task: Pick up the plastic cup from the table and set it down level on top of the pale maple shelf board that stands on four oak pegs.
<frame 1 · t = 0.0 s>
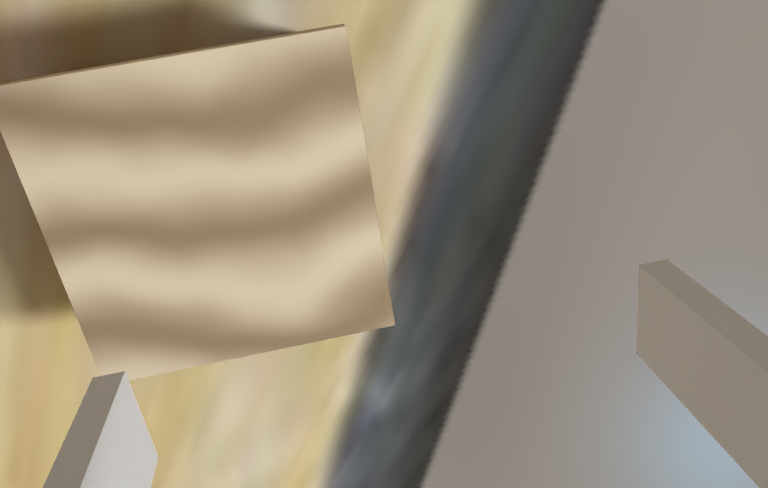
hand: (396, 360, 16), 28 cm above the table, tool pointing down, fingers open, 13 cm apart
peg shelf: (225, 180, 42), on the table
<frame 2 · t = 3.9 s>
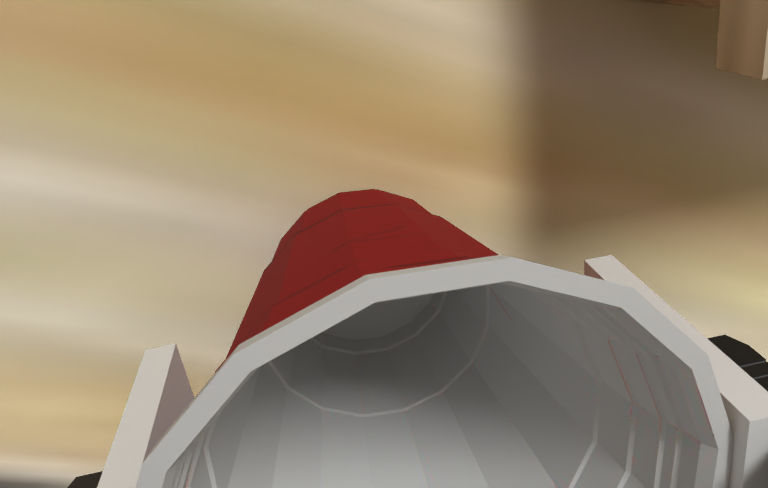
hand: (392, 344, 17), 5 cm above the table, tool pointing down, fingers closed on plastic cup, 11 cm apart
plastic cup: (367, 261, 22), on the table, touching gripper
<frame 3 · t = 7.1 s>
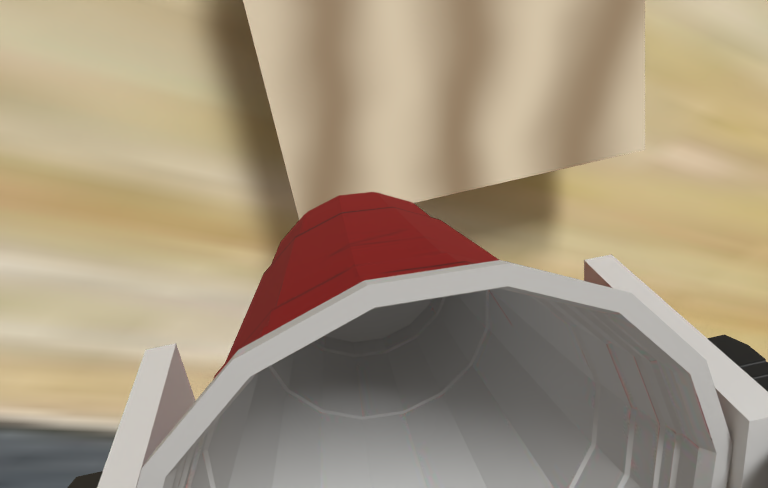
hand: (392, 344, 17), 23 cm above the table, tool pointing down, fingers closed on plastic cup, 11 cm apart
plastic cup: (366, 264, 22), point 17 cm above the table, touching gripper
when the fingers open (13 cm above the table, at t = 10.7 s): plastic cup stays where it is, resting on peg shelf.
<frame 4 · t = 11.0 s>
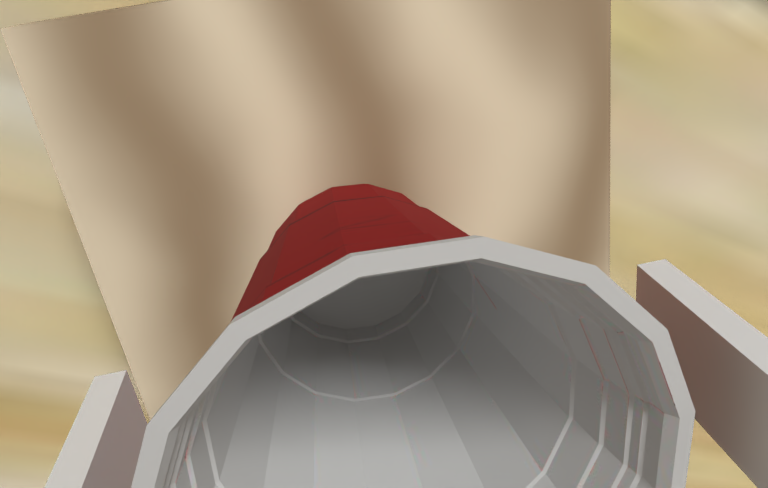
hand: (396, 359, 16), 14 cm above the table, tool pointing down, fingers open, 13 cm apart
plastic cup: (358, 253, 22), point 7 cm above the table, touching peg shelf
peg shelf: (345, 185, 29), on the table
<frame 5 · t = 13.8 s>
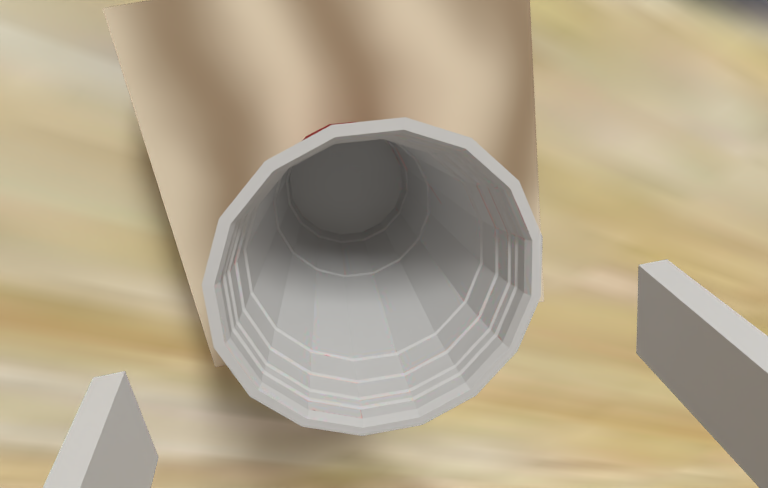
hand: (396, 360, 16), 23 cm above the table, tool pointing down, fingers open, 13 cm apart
plastic cup: (350, 176, 31), point 7 cm above the table, touching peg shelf
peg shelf: (342, 137, 37), on the table
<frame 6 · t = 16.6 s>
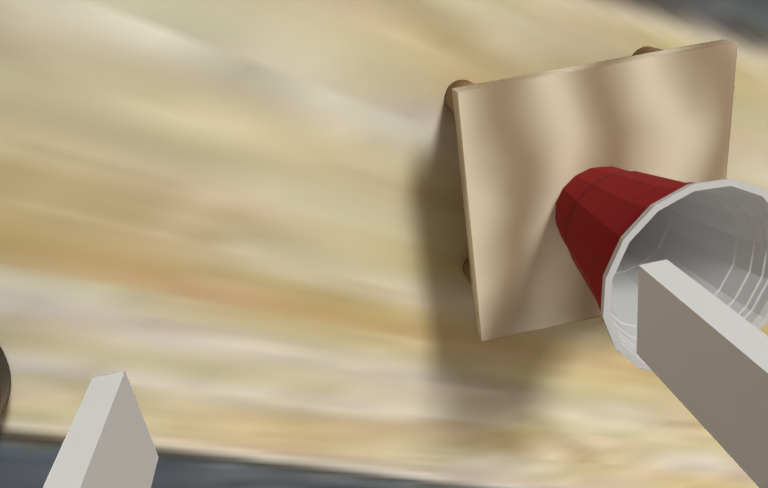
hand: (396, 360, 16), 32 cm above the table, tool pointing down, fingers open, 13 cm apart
plastic cup: (596, 203, 43), point 7 cm above the table, touching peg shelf
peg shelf: (556, 170, 49), on the table
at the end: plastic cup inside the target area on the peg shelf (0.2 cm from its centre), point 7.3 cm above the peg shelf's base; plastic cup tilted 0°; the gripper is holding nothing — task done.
